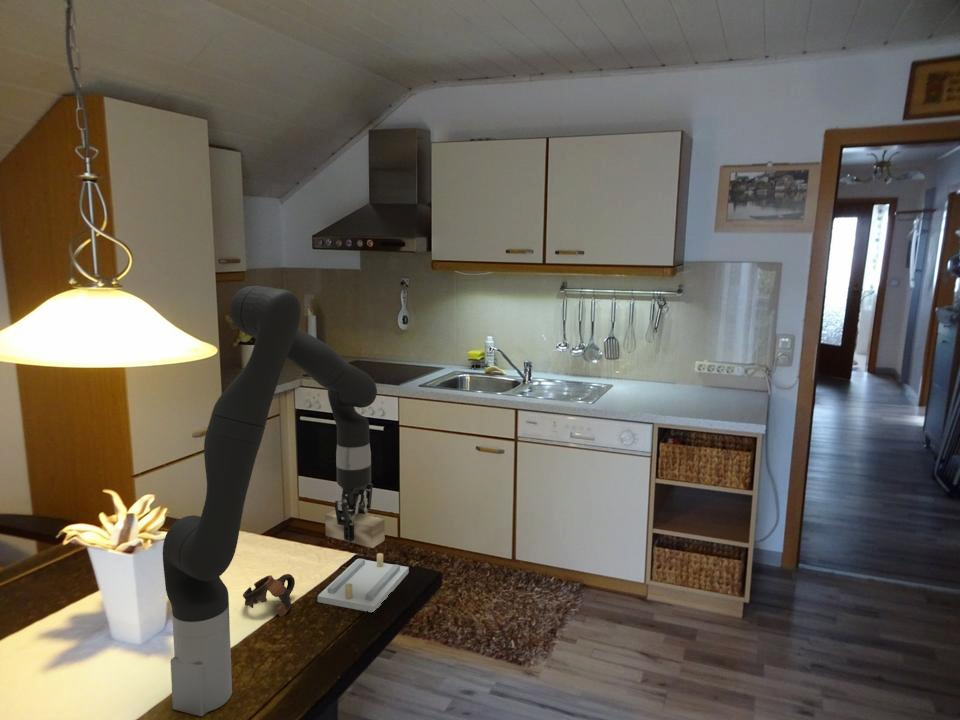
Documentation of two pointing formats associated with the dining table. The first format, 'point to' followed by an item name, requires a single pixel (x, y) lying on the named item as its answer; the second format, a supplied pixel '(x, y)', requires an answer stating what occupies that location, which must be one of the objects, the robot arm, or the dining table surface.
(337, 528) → the beige wooden block
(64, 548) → the dining table surface
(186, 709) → the robot arm
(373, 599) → the key cradle
